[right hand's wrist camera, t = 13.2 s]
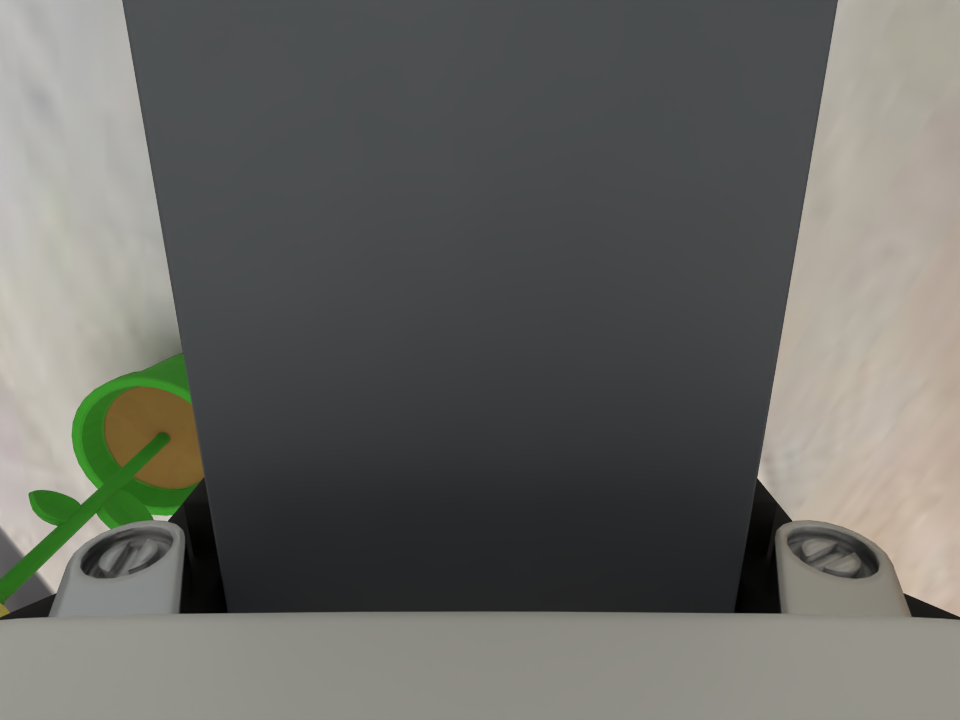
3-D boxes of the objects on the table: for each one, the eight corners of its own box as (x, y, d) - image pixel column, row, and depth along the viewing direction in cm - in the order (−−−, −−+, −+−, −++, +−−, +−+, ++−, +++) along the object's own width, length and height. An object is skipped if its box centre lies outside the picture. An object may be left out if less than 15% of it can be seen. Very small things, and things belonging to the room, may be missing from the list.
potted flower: (303, 402, 37) (1, 863, 13) (225, 483, 38) (-164, 1016, 15) (174, 296, 34) (-477, 624, 11) (98, 387, 36) (-603, 839, 13)
